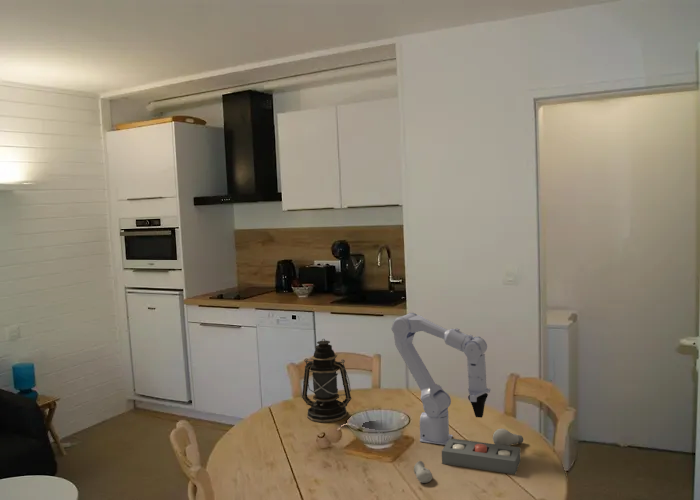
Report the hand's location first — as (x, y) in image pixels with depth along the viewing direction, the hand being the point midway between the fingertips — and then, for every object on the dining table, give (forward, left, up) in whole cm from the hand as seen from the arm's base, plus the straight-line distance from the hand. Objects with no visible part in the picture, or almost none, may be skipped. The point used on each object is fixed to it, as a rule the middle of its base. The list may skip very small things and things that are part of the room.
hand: (479, 416), depth 186 cm
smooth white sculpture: (-11, -26, -11) cm, 30 cm away
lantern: (-62, +11, -11) cm, 63 cm away
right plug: (+9, -10, -10) cm, 17 cm away
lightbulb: (+12, +8, -9) cm, 18 cm away
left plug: (-5, -10, -10) cm, 15 cm away
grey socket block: (+2, -10, -10) cm, 15 cm away
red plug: (+2, -10, -9) cm, 14 cm away
